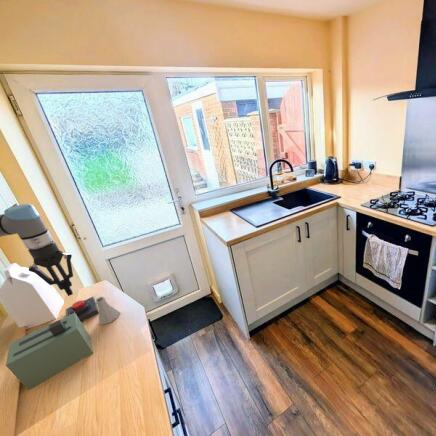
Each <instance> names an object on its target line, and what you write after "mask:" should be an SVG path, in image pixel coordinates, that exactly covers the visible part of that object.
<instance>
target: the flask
mask: <svg viewBox="0 0 436 436" xmlns="http://www.w3.org/2000/svg"><path fill="white" fill-rule="evenodd" d="M95 302H96V304H97V308H98V311H99V314H98V322H99V323H100V324H101V325H106V324H107V325H108V324H110V323H112V322H113V321H114V320H116V319H117V318H118V317H119V316H120V314H121V312H120V311H119V310H117V309H116V308H115V307H113V306H112V305H110V304H109V303H108V302H107V300H106V297H105V296H99V297H98V298H96V299H95Z"/></svg>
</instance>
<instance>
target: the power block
mask: <svg viewBox="0 0 436 436" xmlns="http://www.w3.org/2000/svg"><path fill="white" fill-rule="evenodd" d="M95 300H96V299H95V297H94V296H91V297H89V298H87V299H84V300H83V301H84V303H85V306H83V307H82V308H80V309H78V310H74V309H73V308H72V306H70V307H67V308H66V309H65V314H66V316H68V315H71V314H73V313H76V315H77V317H78V318H79V320H80V321H81V323H82V322H84V321H86V320H88V319H90V318H92V317H95V316H96V315H99V308H98V304H97V303H96V302H95ZM66 316H65V317H66Z"/></svg>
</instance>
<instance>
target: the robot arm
mask: <svg viewBox="0 0 436 436" xmlns="http://www.w3.org/2000/svg"><path fill="white" fill-rule="evenodd" d="M3 212H4V213H2V214H0V238H1V237H6V236H11V235H12V236H13V235H18V237H19V238H20V240H21V242H22V243H23V245H24V246H25V248H26V249H27V251H28V253H29V255H30V256H31V258H32V259H33V263H32V264H31V265H29V266H28V268H29V271H31V272H34V273H36V274H37V275H38V276H39V277H41V278H42V279H43V280H44V281H45V282H47V283H48V284H49V285H56V286H57V287H58V289H59V290H60V291H63V290H64V292H65V293H66V295H67V296H68V297H70V296H72V295H74V294H73V293H74V292H73V290H72V288H71V287H72V286H73V284H72V281H71V278H73V277H74V273H73V272H74V271H73V267H72V257H73V253H72V252H65V253H64V252H63V251H62V250H60V249H59V247H58V245H57V243H56V241H54V238H53V236H52V235H51V232H50V231H49V229H48V228H47V226H46V225H45V222H44V221H43V218H42V217H41V214H40V213H39V212H38V210H37V209H36V208H35V206H34V205H33V204H30V203H22V204H18V205H13V206H11V207H8V208H5V209H4V211H3ZM63 258H64V259H65V261H66V266H67V272H68V273H67V272H66V271H65V269H64V267H63V265H62V264H61V262H62V259H63ZM53 266H54V267H55V268H56V269H57V271H58V273H59V274H60V276H61V277H62V280H61V278H60V277H59V276H58V274H57V271H55V269H54V267H53ZM39 267H42V268H45V269H46V270H47V272H48V273H49V275H50V276H51V277H50V276H49V275H47V273H45V272H44V271H43V270H41V268H39Z"/></svg>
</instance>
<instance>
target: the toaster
mask: <svg viewBox="0 0 436 436" xmlns="http://www.w3.org/2000/svg"><path fill="white" fill-rule="evenodd" d="M59 320H61V321H62V322H63V324H64V325H65V327H66V331H65V332H63V333H61V334H59V335H57V336H55V337H54V335H53V334H52V333H51V331H50V330H49V325H50V324H53V323H55V322H57V321H59ZM92 354H94V349H93V346H92V342H91V336H90V334H89V332H88V331H87V329H86V327H85V326H84V324H83V323H82V322H81V321H80V320H79V318H78V317H77V315H76V313H73V314H71V315H68V316H64V317H62V318H60V319H58V320H56V321H54V322H52V323H49V324H47V325H45V326H43V327H41V328H38V329H37V330H35V331H33V332H30V333H28V334H26V335H23V336H22V337H19V338H18V339H15V340H13V341H11V342H9V345H8V351H7V356H6V362H5V366H6V368H8V369H9V371H10V372H11V373H12V374H13V375H14V376H15V377H16V378H17V379H18V380H19V382H20V383H21V384H22V385H23V386H24V387H25V388H26V389H27V390H28V391H29V390H31V389H33V388H34V387H36V386H38V385H40V384H42V383H44V382H45V381H48V380H49V379H50V378H52V377H54V376H56V375H57V374H59V373H61V372H62V371H64V370H66V369H67V368H70V367H71V366H74V365H75V364H76V363H78V362H80V361H82V360H84V359H85V358H87V357H89V356H91V355H92Z"/></svg>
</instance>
